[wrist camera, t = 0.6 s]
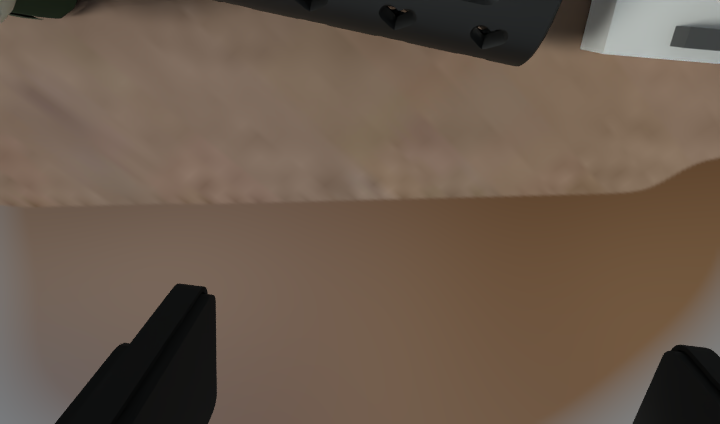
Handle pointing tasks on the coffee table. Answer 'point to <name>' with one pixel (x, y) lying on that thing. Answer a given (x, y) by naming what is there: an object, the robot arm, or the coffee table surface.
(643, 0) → the breaker panel
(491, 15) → the muzzle brake
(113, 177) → the coffee table surface
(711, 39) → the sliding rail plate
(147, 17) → the coffee table surface
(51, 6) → the character mug
